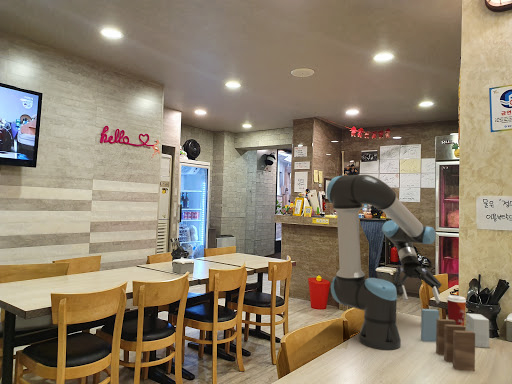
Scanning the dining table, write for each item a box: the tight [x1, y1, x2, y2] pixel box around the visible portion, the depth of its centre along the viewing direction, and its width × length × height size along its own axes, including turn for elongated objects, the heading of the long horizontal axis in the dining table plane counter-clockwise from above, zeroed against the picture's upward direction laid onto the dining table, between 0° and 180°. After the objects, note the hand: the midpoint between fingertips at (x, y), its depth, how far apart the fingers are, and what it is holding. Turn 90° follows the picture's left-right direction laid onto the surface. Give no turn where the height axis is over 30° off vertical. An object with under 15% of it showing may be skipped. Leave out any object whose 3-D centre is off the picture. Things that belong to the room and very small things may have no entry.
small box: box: [465, 312, 490, 349], centre depth 144 cm, size 8×6×10 cm
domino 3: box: [452, 330, 476, 372], centre depth 121 cm, size 2×6×12 cm, turn 89°
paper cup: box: [446, 294, 467, 327], centre depth 160 cm, size 8×8×14 cm
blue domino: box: [420, 308, 440, 343], centre depth 145 cm, size 2×6×12 cm, turn 88°
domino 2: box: [443, 325, 466, 363], centre depth 127 cm, size 2×6×12 cm, turn 88°
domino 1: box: [435, 318, 456, 356], centre depth 133 cm, size 2×6×12 cm, turn 89°
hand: (422, 301), depth 155 cm, fingers open, 13 cm apart
